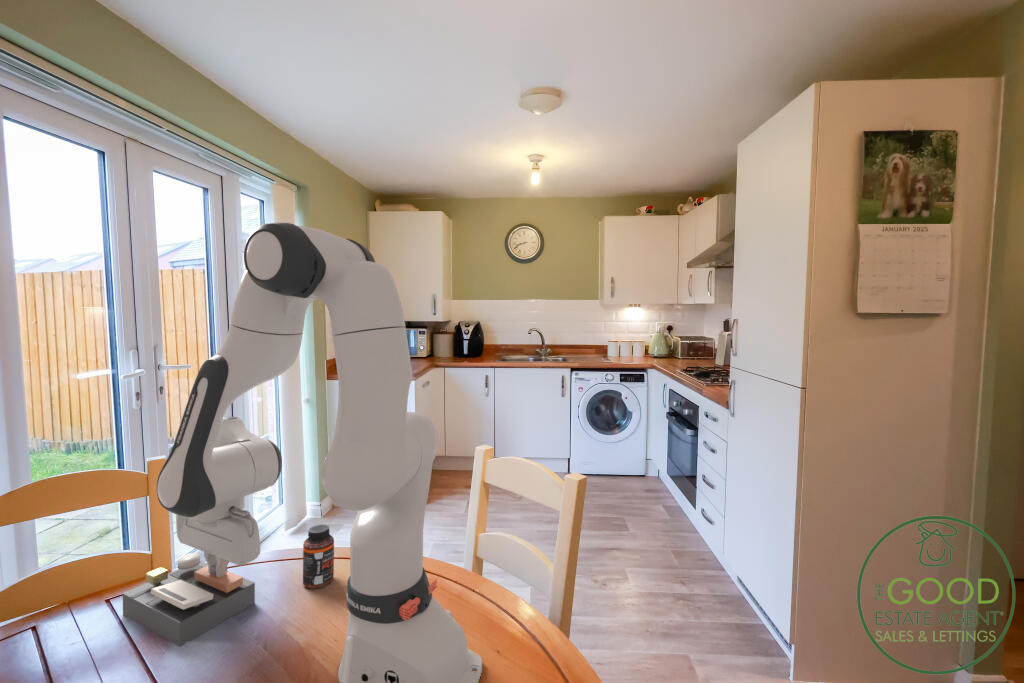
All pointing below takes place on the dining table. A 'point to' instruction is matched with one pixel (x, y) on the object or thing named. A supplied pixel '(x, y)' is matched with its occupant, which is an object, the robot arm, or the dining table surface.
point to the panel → (191, 620)
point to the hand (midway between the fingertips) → (217, 574)
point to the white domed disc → (188, 561)
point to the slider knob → (157, 576)
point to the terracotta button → (219, 580)
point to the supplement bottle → (318, 557)
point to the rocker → (182, 594)
